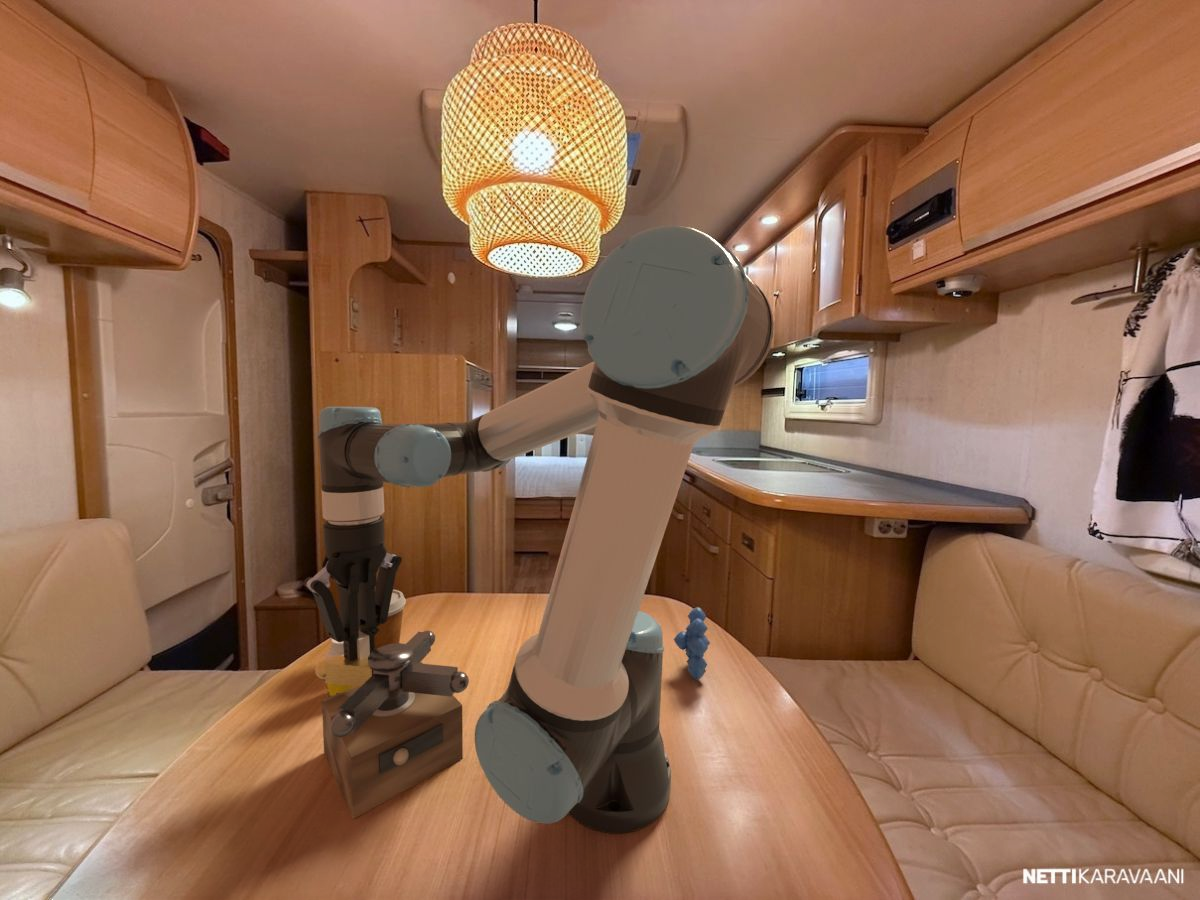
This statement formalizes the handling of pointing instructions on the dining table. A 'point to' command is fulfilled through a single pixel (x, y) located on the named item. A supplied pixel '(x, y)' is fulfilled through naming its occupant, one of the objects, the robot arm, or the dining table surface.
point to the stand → (392, 747)
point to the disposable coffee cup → (391, 622)
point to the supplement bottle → (335, 649)
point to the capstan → (387, 680)
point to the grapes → (694, 643)
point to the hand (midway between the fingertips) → (360, 677)
